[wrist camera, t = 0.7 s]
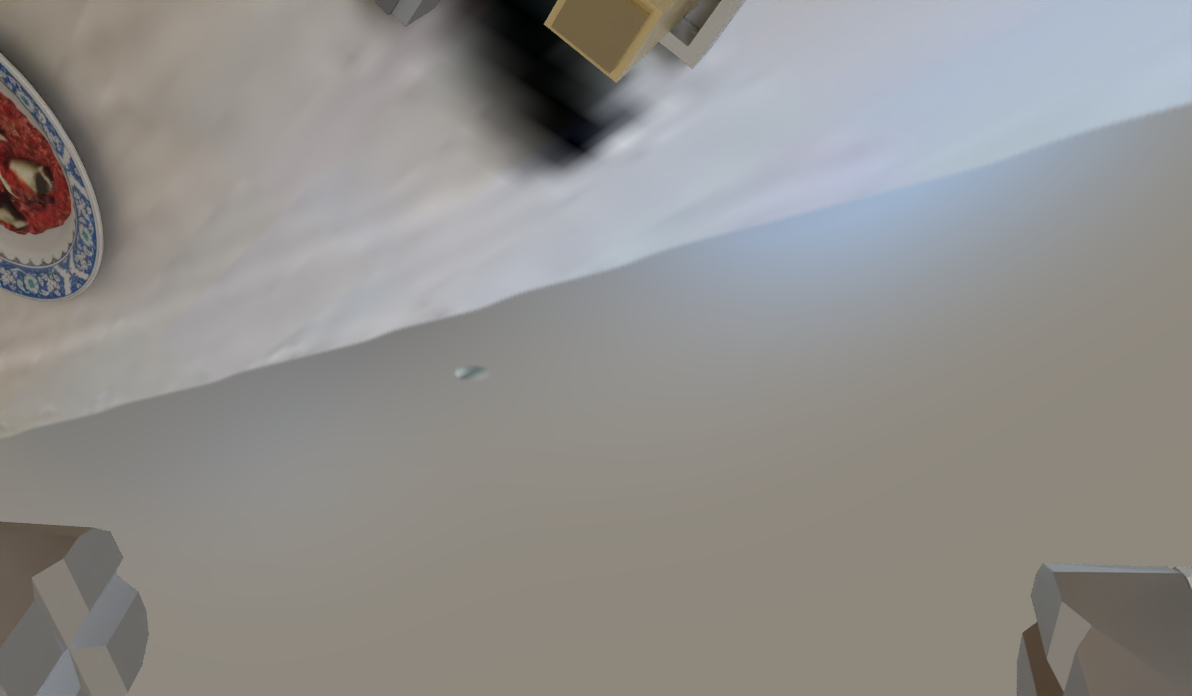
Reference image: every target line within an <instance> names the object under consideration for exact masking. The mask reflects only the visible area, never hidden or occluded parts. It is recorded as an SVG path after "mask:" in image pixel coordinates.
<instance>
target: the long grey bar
mask: <svg viewBox="0 0 1192 696" xmlns="http://www.w3.org/2000/svg"><path fill="white" fill-rule="evenodd" d="M438 2H439V0H375V3H376V4H377V5H378V6H379V7H380V8H381V9H383V10H384V11H385V12H386V13H387V14H388V15H390V14H391V13H392V14H393V15H394V16H395V17H396V18H397V19H398V20H399V21H400V22H401V23H402V24H403V25H404V26H405V27H406V26H407V25H409V24H410V23H412V22H413V21H415V20H416V19H418V18H420V17H421V16H423V15H424V14H426V13H427V12H429V11H430V10H432V9H433V8H435V6H436V5H437V3H438Z"/></svg>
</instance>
